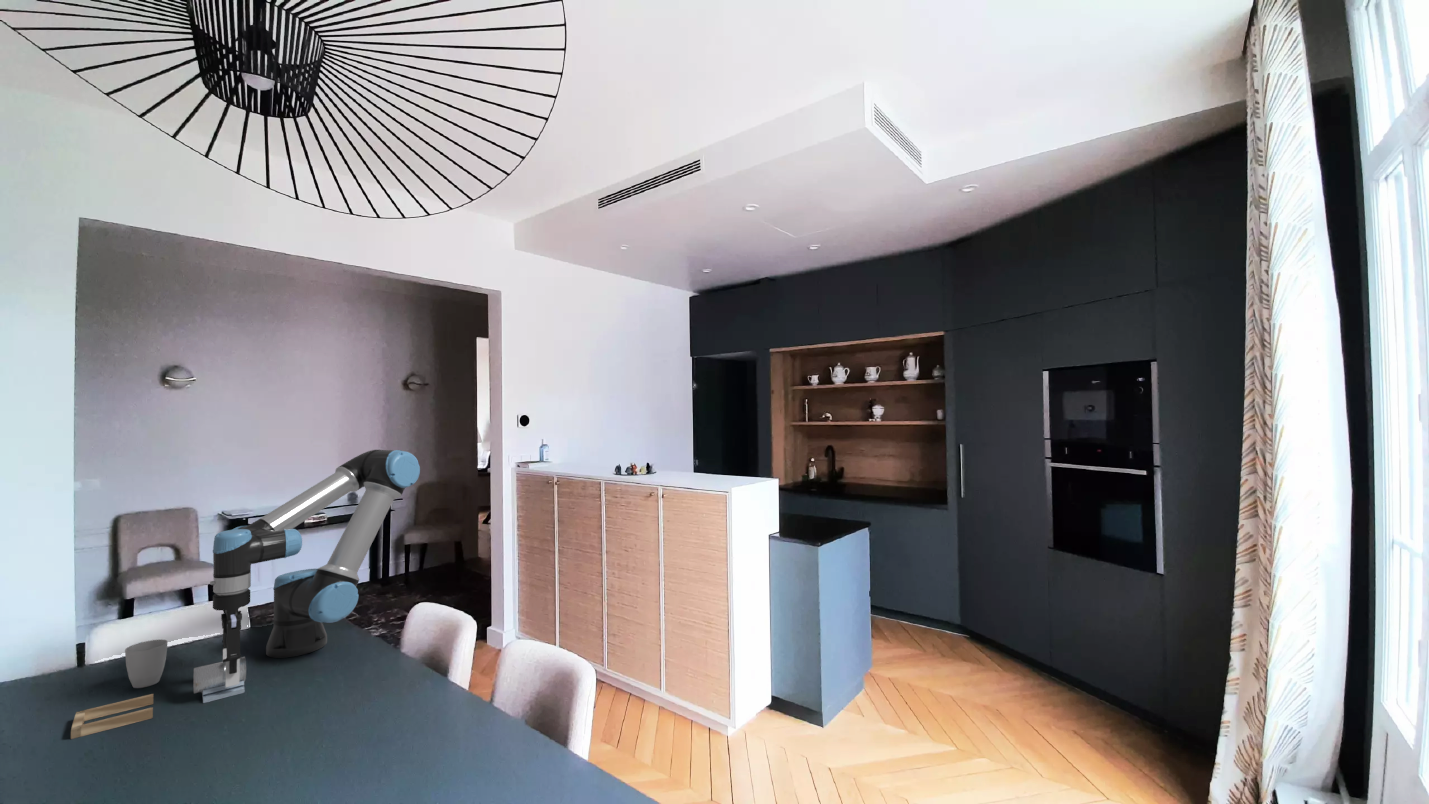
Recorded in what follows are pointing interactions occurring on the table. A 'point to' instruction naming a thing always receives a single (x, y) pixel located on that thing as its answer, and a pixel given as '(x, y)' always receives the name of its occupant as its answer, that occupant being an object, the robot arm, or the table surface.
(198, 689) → the grey metal cylinder
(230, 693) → the v block
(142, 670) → the cup
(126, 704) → the wooden flat frame
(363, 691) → the table surface
